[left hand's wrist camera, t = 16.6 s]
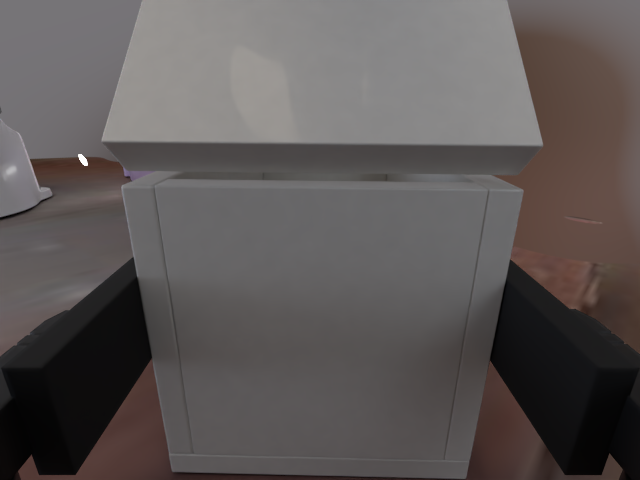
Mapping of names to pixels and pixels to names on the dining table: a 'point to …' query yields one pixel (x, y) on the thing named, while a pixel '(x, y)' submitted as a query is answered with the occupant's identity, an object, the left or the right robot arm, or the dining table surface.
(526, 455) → the dining table surface
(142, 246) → the chest
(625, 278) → the dining table surface
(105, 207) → the dining table surface
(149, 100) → the lid
